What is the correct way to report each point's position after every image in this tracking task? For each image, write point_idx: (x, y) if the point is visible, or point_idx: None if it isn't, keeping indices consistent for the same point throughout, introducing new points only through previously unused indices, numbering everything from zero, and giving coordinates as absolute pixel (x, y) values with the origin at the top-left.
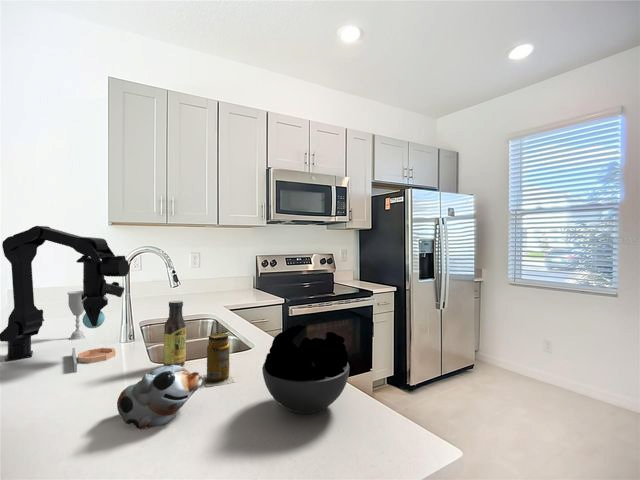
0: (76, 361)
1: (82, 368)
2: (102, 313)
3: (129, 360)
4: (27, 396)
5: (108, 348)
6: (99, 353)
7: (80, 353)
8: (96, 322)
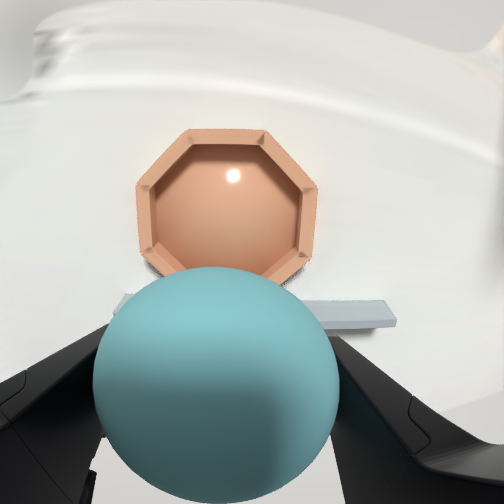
0: (372, 320)
1: (358, 281)
2: (268, 364)
3: (393, 95)
4: (456, 385)
5: (175, 157)
6: (181, 199)
7: None
8: (360, 360)
